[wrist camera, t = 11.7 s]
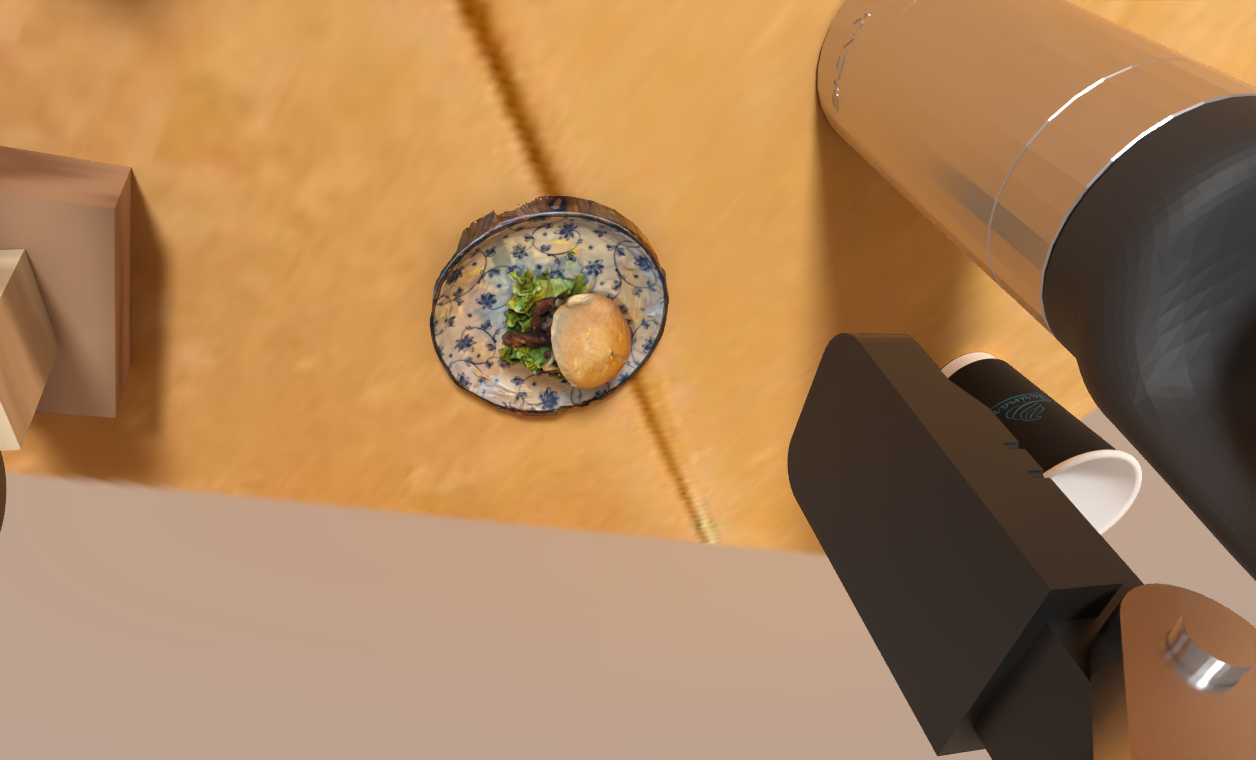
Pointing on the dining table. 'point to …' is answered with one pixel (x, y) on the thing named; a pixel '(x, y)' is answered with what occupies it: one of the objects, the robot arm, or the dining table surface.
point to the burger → (548, 306)
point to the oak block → (21, 347)
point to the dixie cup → (1053, 438)
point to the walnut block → (75, 270)
